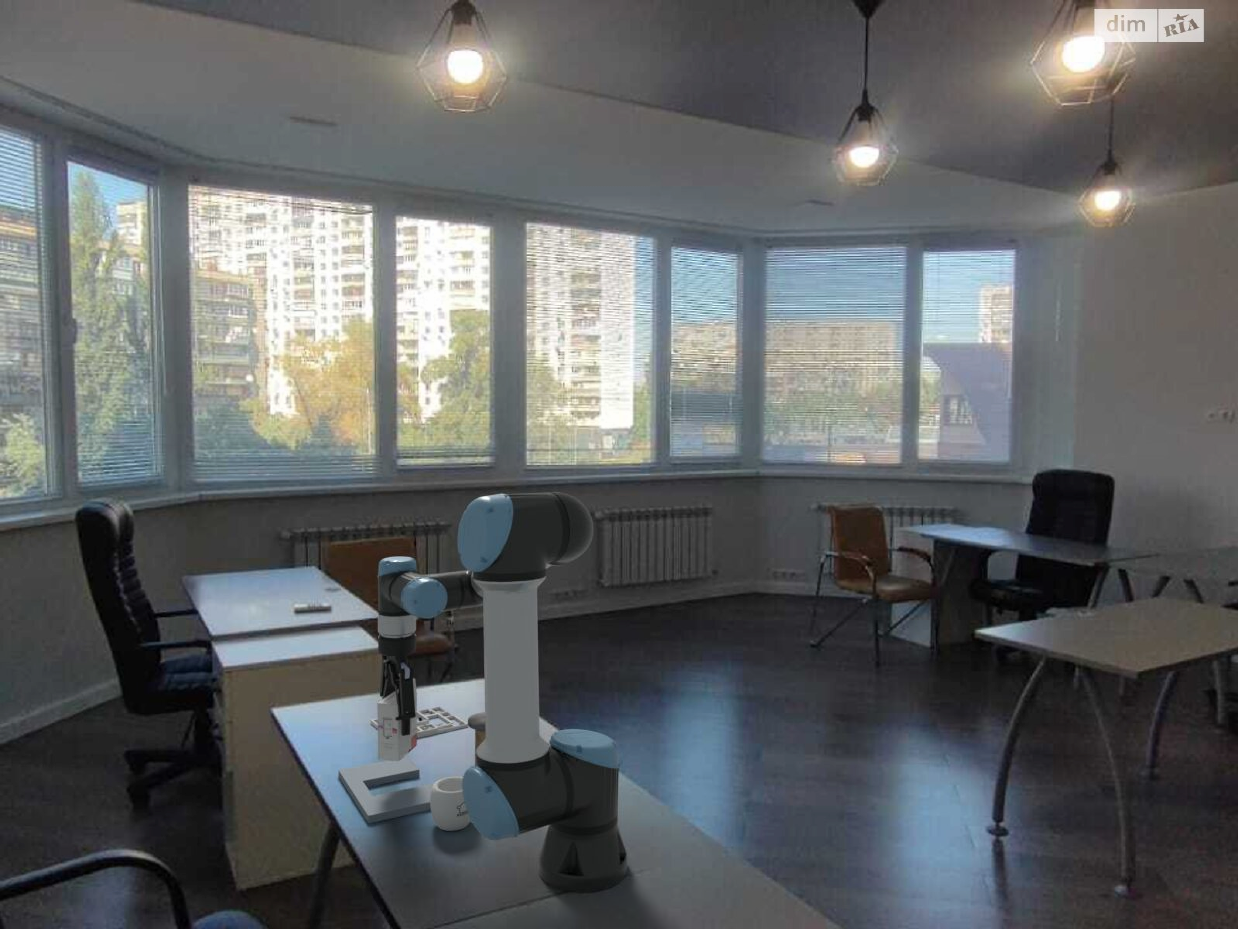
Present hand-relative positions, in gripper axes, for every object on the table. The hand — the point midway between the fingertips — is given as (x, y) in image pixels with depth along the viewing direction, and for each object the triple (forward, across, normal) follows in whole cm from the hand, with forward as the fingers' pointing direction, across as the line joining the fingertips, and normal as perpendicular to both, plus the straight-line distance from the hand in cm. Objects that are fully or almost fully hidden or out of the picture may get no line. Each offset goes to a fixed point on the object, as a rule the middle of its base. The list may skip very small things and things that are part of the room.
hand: (396, 741), depth 176 cm
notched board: (+10, 0, +2) cm, 10 cm away
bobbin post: (+10, -8, -16) cm, 21 cm away
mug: (+10, -20, -6) cm, 24 cm away
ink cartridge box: (+3, 0, 0) cm, 3 cm away
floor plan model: (+11, +35, -12) cm, 38 cm away
